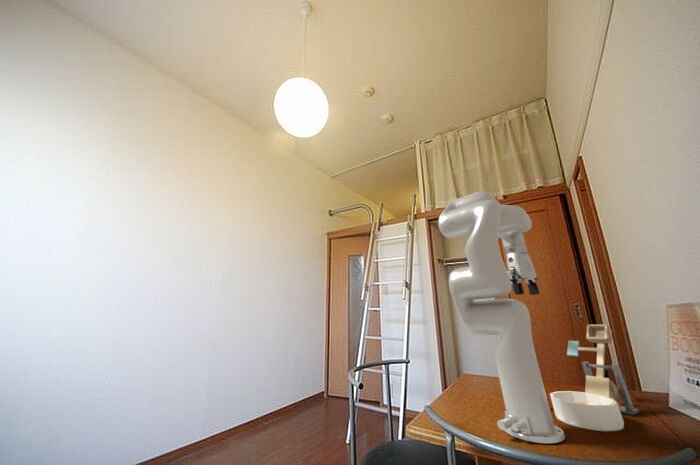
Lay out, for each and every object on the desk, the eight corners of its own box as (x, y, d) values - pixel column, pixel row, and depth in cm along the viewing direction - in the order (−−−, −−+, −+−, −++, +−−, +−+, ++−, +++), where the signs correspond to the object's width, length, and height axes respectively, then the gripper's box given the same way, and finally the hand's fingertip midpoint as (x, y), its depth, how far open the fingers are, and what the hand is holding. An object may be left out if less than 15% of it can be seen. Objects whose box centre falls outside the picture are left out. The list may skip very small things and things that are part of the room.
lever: (621, 410, 71) (607, 395, 70) (571, 399, 80) (559, 387, 80) (619, 337, 83) (607, 324, 82) (576, 336, 93) (565, 324, 92)
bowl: (610, 436, 58) (601, 409, 60) (545, 418, 70) (540, 396, 72) (633, 423, 64) (625, 399, 66) (570, 408, 76) (565, 388, 78)
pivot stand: (633, 415, 69) (616, 366, 73) (591, 406, 77) (577, 362, 81) (639, 411, 71) (622, 364, 75) (597, 403, 79) (584, 360, 83)
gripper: (511, 246, 95) (523, 293, 90) (538, 250, 103) (550, 293, 97) (493, 251, 102) (503, 295, 96) (519, 254, 109) (530, 295, 103)
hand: (527, 294), depth 97 cm, fingers open, 9 cm apart
